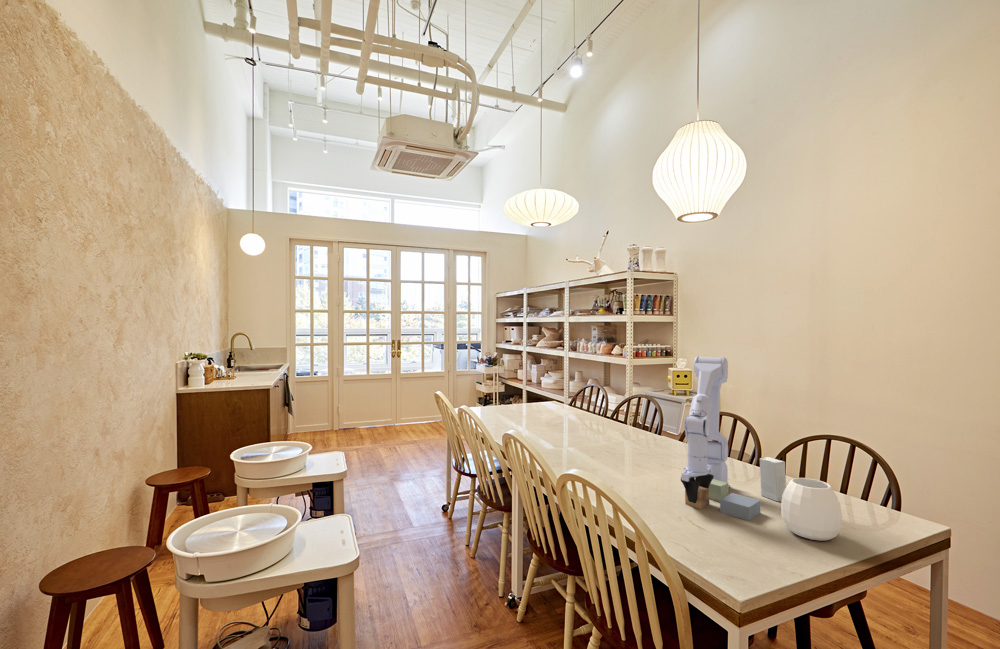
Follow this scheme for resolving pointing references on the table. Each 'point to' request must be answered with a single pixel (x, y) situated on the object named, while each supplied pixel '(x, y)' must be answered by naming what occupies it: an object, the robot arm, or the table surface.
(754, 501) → the slate block
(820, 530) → the white round vase
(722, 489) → the olive cube
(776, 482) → the skincare box
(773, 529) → the table surface
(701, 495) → the walnut cube
